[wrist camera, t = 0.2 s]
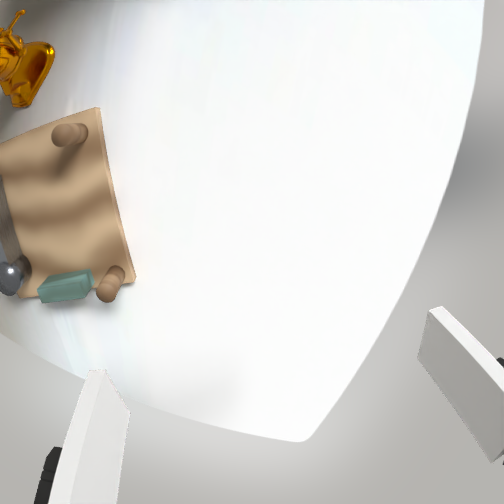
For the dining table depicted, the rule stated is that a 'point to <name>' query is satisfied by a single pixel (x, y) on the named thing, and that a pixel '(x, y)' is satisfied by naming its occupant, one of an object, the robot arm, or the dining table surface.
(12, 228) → the leg
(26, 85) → the figurine
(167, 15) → the dining table surface
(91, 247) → the board
